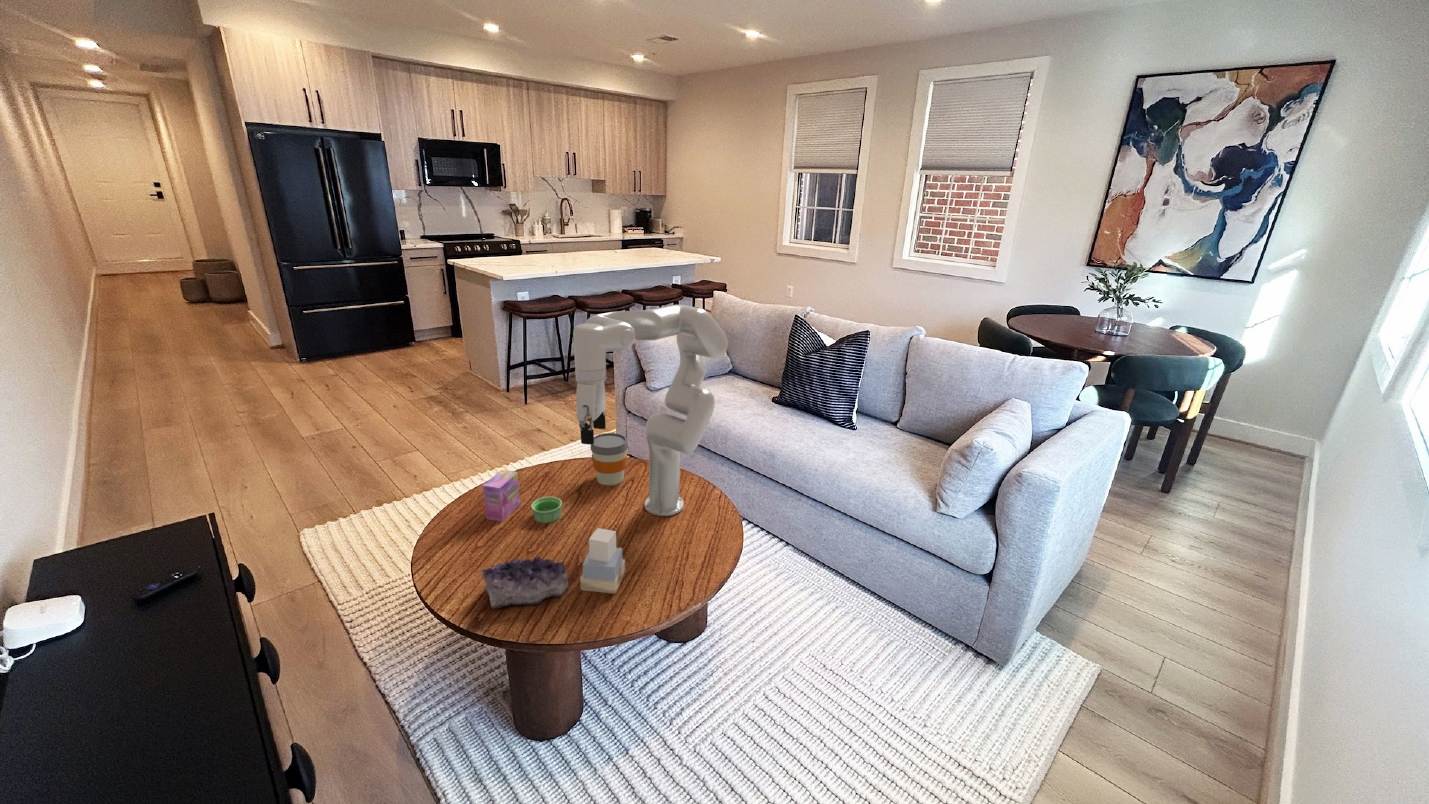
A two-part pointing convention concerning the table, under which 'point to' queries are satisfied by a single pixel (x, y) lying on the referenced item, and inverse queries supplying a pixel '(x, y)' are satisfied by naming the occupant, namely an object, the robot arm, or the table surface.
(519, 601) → the geode
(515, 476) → the box
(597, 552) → the white block
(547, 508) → the ramekin
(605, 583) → the tower base
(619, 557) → the tower top
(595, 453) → the reusable coffee cup
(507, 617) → the table surface
